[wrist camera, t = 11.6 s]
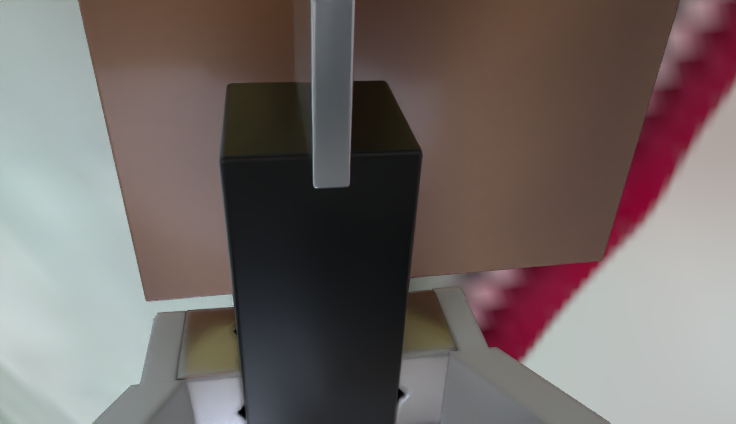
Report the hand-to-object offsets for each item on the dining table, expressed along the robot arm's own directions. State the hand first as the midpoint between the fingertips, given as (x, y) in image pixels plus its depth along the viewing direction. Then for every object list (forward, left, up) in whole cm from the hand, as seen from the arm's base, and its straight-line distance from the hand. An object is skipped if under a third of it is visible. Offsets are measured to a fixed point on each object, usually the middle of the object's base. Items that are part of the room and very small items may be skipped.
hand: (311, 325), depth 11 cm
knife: (0, -4, 0) cm, 4 cm away
